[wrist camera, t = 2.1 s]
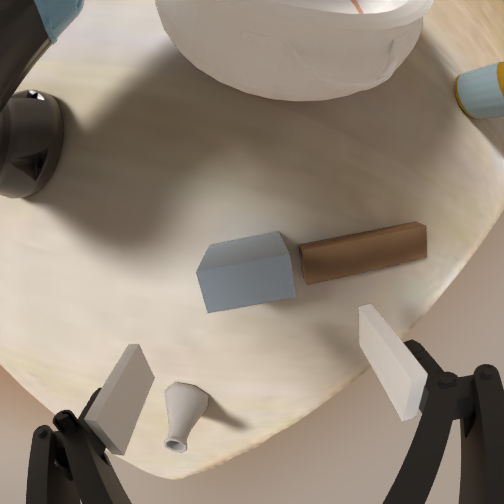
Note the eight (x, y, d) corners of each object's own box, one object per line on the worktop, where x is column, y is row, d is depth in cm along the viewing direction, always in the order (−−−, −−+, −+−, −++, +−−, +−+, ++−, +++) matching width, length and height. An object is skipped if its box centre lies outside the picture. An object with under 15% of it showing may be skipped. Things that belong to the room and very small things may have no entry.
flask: (216, 392, 39) (210, 443, 29) (200, 417, 40) (193, 464, 31) (171, 375, 38) (155, 424, 28) (159, 401, 39) (144, 447, 30)
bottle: (451, 108, 27) (529, 95, 13) (451, 67, 25) (521, 43, 11) (482, 126, 28) (555, 124, 13) (481, 87, 26) (549, 75, 11)
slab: (209, 244, 32) (196, 271, 24) (278, 231, 32) (289, 253, 23) (217, 277, 33) (207, 312, 25) (284, 264, 33) (296, 296, 25)
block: (298, 244, 32) (302, 250, 30) (415, 221, 32) (426, 225, 29) (303, 276, 34) (307, 284, 31) (416, 251, 33) (426, 256, 30)
